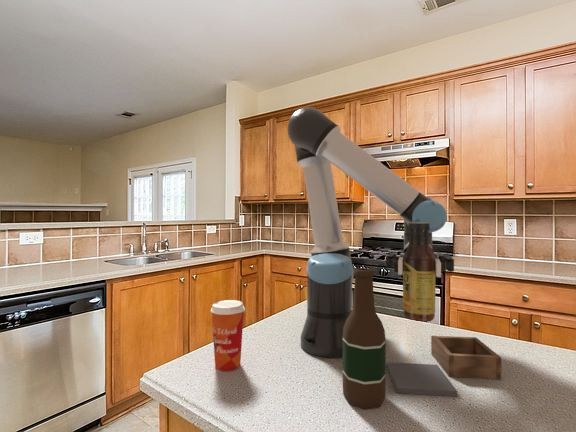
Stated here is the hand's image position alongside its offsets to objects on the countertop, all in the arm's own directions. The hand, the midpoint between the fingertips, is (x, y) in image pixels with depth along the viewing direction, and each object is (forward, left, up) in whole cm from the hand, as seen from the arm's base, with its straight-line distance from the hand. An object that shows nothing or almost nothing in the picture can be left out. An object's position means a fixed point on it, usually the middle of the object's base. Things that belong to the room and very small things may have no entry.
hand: (419, 268), depth 63 cm
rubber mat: (+1, +5, -24) cm, 24 cm away
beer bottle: (-11, -3, -24) cm, 26 cm away
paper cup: (-40, +7, -24) cm, 47 cm away
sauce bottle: (+1, +5, -11) cm, 12 cm away
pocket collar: (+13, +13, -24) cm, 30 cm away
